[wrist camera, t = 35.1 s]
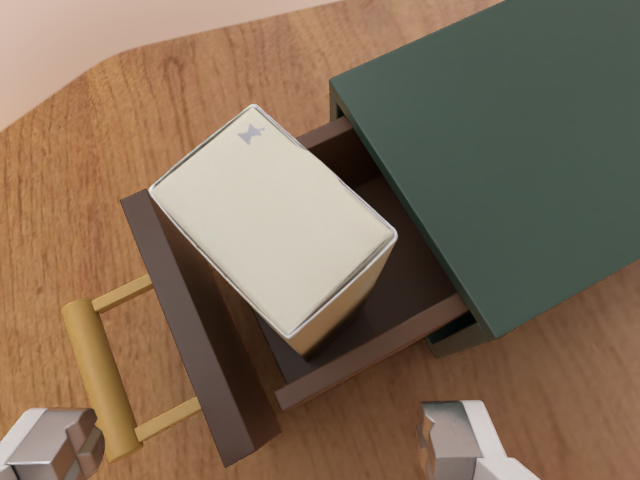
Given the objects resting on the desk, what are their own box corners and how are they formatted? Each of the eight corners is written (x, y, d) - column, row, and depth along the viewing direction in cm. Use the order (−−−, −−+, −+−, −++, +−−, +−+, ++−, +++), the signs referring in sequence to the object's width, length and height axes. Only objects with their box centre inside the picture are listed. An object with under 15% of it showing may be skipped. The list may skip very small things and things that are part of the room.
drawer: (172, 492, 22) (87, 544, 14) (102, 293, 25) (5, 251, 18) (483, 320, 24) (549, 288, 17) (379, 159, 27) (395, 73, 20)
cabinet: (436, 359, 24) (496, 339, 15) (330, 179, 28) (328, 78, 19) (645, 242, 26) (810, 162, 17) (518, 89, 30) (598, -43, 21)
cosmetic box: (230, 283, 24) (132, 182, 12) (288, 231, 25) (247, 91, 13) (311, 370, 22) (285, 347, 11) (370, 311, 23) (404, 230, 12)
